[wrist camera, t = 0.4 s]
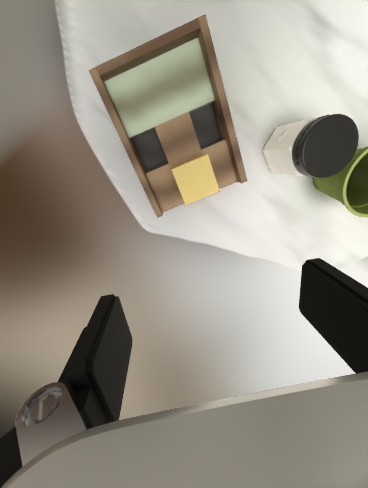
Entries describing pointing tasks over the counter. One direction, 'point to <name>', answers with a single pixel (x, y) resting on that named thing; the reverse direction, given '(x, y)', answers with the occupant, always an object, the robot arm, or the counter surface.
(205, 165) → the block
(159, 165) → the wooden tray
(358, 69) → the counter surface
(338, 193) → the plant pot
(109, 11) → the counter surface
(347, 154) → the jar
